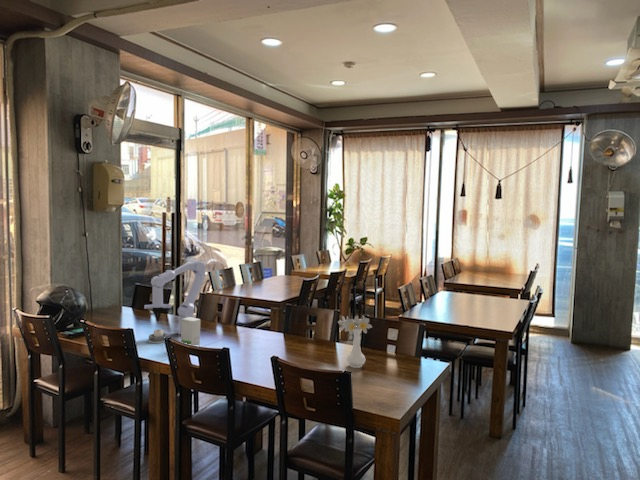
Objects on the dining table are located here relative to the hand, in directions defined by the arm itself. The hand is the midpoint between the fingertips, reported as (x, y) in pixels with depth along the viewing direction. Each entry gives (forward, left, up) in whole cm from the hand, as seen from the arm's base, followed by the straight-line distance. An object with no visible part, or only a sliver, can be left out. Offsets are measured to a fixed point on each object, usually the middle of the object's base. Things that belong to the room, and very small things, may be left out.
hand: (157, 320), depth 279 cm
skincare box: (-19, +22, -10) cm, 31 cm away
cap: (-1, +7, -9) cm, 12 cm away
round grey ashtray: (-1, +7, -10) cm, 12 cm away
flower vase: (-98, +66, -10) cm, 119 cm away
